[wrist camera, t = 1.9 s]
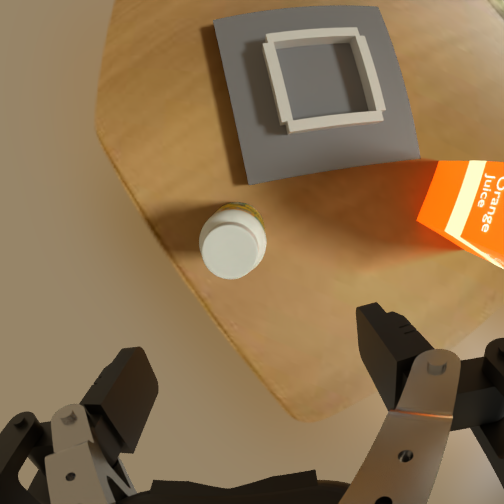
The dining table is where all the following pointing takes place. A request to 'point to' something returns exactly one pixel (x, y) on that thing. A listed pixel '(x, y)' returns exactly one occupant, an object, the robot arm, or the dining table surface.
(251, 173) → the socket board
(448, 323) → the dining table surface
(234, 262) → the supplement bottle
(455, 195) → the orange juice
